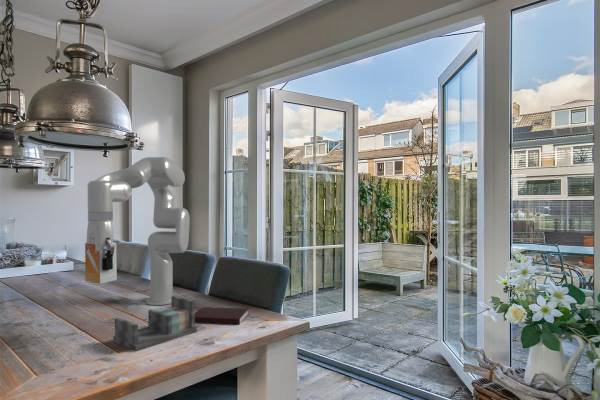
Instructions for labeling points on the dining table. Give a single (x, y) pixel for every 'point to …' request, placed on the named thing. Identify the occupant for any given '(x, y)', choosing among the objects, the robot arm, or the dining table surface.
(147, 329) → the rack
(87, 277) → the small box
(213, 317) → the book
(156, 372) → the dining table surface
